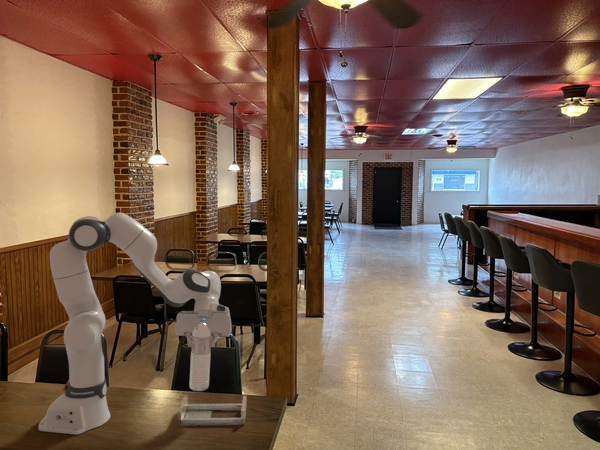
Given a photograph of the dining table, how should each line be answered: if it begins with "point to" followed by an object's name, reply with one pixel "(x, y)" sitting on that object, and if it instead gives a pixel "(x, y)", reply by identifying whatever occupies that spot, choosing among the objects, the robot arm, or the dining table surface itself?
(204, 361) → the water bottle
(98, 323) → the robot arm
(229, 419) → the wooden rack frame
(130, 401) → the dining table surface
